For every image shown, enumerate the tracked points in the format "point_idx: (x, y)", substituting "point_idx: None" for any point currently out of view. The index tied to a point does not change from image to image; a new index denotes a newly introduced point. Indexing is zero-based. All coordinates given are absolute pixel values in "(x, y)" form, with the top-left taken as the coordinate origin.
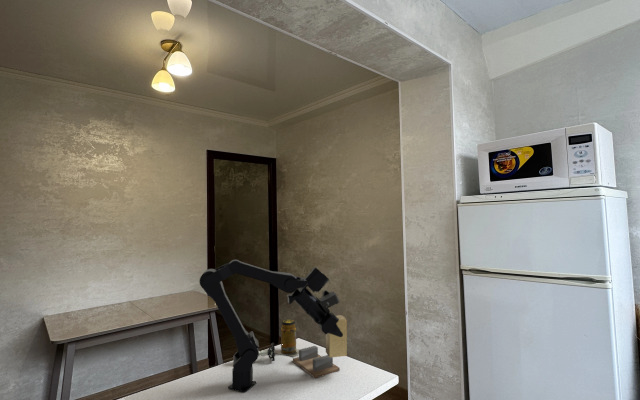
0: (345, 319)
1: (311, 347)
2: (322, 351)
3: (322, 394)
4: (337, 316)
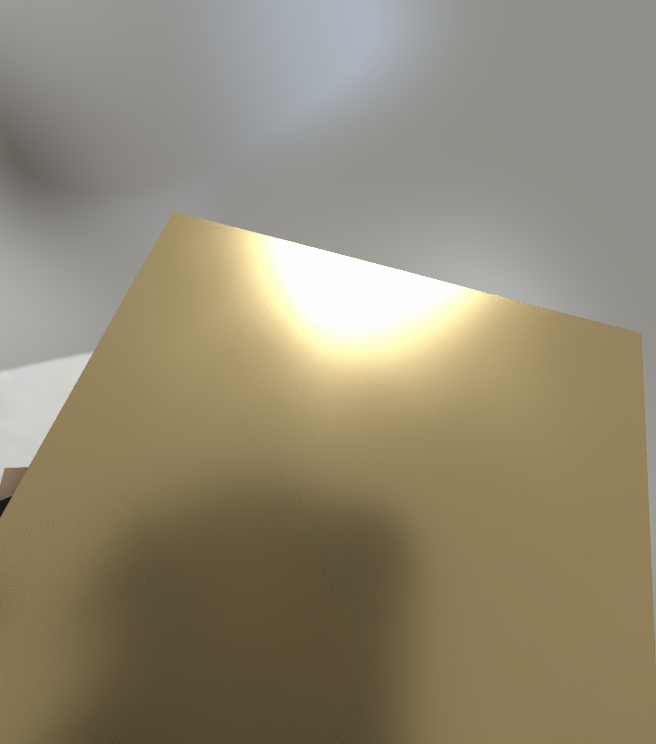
0: (636, 370)
1: None
2: (5, 400)
3: None
4: (193, 417)
